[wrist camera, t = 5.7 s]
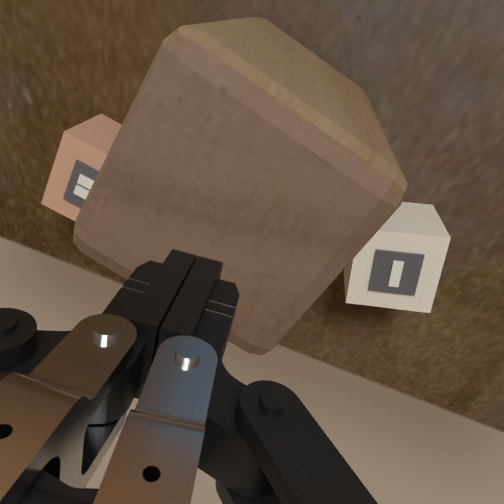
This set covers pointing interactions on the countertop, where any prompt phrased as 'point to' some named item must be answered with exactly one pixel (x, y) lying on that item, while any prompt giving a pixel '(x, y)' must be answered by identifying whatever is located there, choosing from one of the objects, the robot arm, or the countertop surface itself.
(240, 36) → the wooden block
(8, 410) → the robot arm
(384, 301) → the cream cube
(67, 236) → the countertop surface
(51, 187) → the pink cube
